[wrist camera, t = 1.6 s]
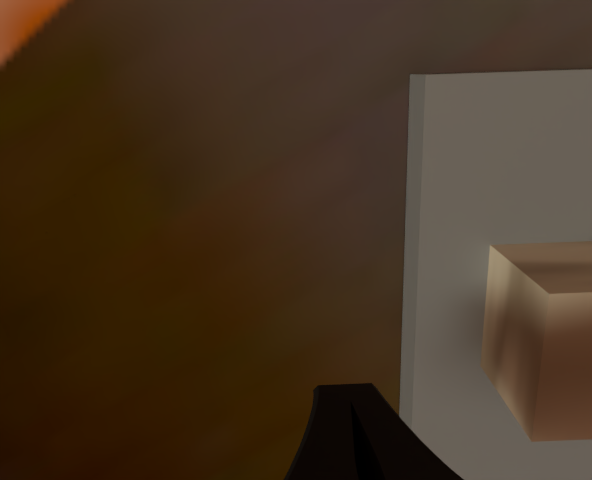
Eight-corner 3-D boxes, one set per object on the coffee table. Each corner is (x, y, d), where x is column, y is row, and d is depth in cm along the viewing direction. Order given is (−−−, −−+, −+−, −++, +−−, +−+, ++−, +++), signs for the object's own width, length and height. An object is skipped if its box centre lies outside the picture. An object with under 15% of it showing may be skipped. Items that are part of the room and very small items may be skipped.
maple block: (606, 361, 19) (689, 434, 15) (480, 365, 19) (531, 441, 15) (625, 239, 17) (722, 287, 14) (489, 244, 17) (549, 293, 13)
